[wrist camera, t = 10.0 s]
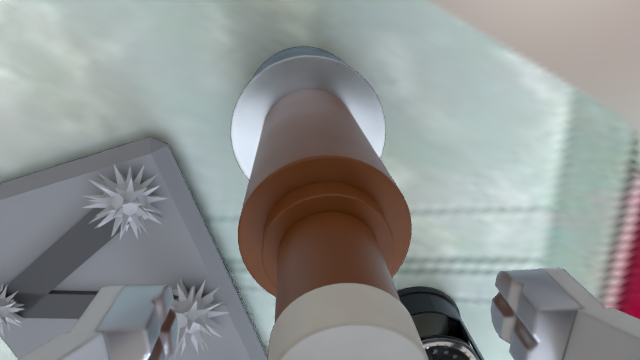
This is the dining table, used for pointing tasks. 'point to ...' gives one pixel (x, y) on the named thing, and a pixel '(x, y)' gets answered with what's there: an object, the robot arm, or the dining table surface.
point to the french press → (454, 346)
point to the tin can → (298, 74)
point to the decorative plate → (114, 251)
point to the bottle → (327, 236)
